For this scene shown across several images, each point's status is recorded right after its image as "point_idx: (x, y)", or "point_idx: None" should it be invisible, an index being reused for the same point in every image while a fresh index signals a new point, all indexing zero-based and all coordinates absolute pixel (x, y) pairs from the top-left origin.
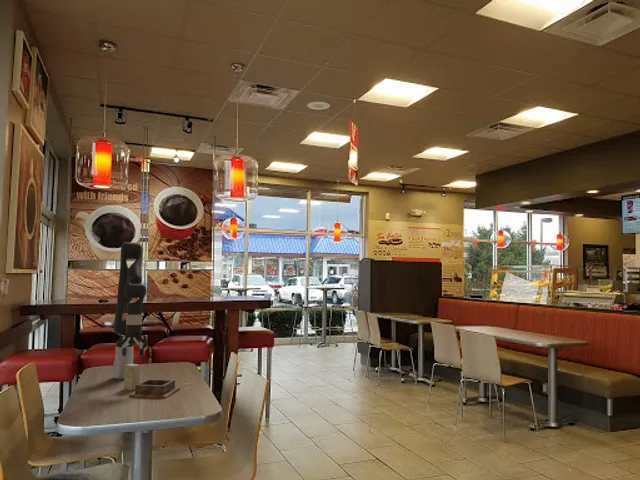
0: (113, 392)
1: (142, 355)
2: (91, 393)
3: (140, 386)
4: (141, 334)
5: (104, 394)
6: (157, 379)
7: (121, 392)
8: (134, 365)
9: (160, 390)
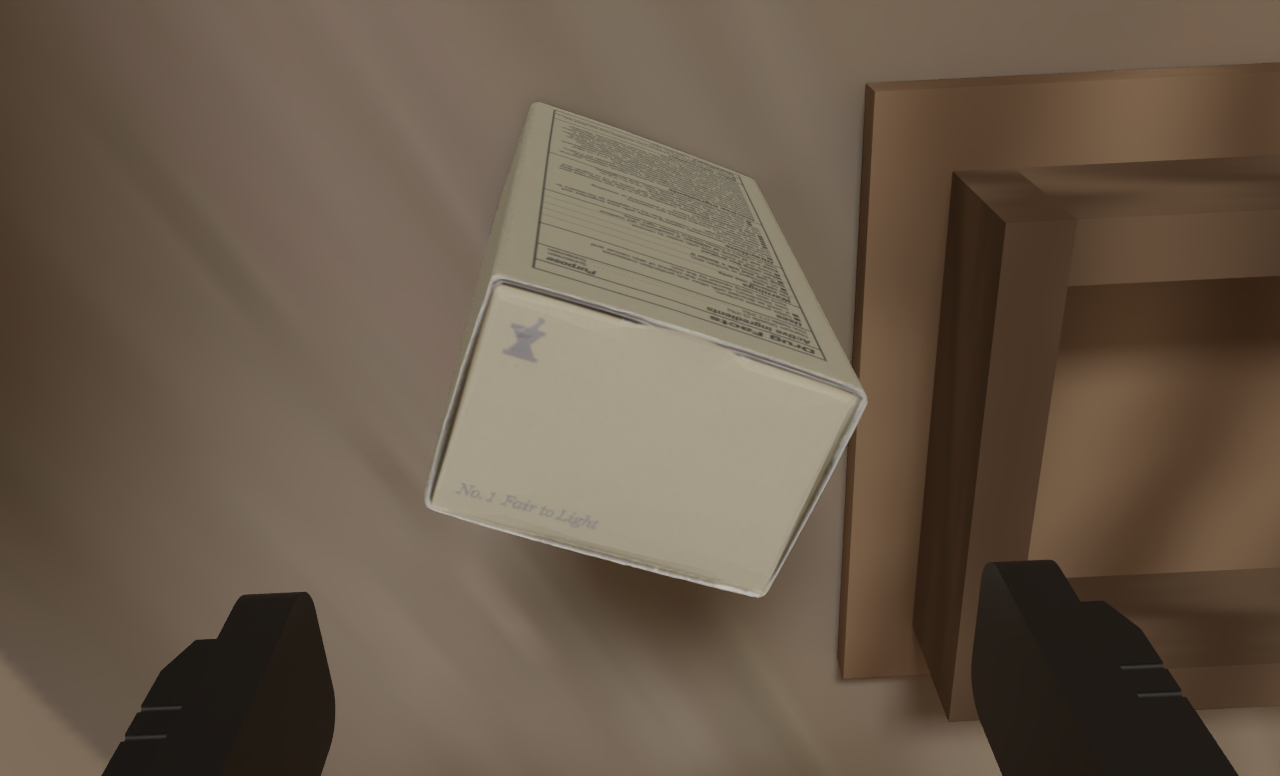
0: None
1: (1048, 580)
2: (169, 594)
3: None
4: None
5: (404, 608)
6: (1238, 212)
7: None
8: (751, 531)
9: None
